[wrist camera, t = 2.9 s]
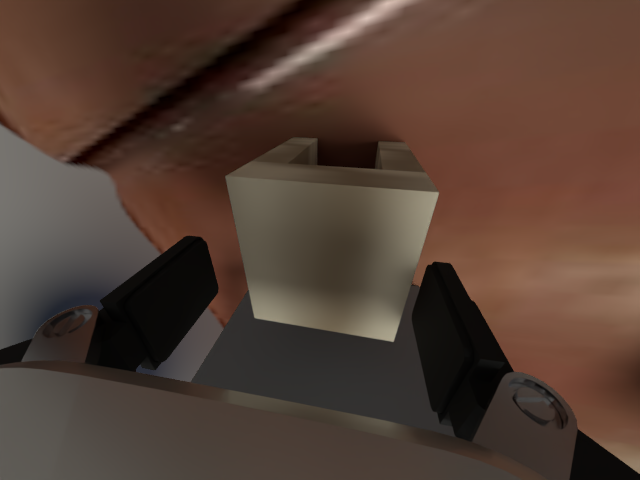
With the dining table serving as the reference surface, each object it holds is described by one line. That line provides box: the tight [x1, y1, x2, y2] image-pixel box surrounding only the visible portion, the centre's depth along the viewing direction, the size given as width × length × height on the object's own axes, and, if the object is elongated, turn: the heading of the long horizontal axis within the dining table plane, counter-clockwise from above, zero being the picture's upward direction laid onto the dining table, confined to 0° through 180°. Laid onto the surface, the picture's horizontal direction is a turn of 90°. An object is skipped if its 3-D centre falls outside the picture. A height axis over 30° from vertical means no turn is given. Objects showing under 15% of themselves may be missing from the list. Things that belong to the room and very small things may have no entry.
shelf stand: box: [191, 285, 456, 437], centre depth 19 cm, size 20×13×14 cm, turn 179°
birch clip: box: [225, 137, 439, 342], centre depth 12 cm, size 7×7×8 cm
